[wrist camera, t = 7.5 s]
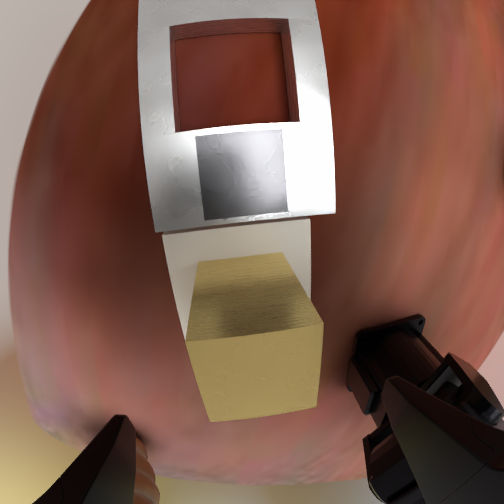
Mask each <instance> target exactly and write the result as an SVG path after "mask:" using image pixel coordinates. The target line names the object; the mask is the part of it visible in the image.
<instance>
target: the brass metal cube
mask: <svg viewBox="0 0 504 504" xmlns="http://www.w3.org/2000/svg"><path fill="white" fill-rule="evenodd" d="M323 328H324V323H323V321H322V319H321V318H320V316H319V314H318V312H317V311H316V309H315V307H314V306H313V304H312V302H311V300H310V299H309V297H308V295H307V294H306V292H305V290H304V288H303V287H302V285H301V283H300V282H299V280H298V278H297V277H296V275H295V273H294V271H293V270H292V268H291V266H290V265H289V263H288V261H287V260H286V258H285V256H284V255H283V253H282V252H278V253H270V254H261V255H253V256H244V257H236V258H227V259H219V260H210V261H202V262H198V266H197V271H196V277H195V283H194V289H193V295H192V301H191V307H190V313H189V319H188V326H187V333H186V339H185V343H186V347H187V350H188V354H189V357H190V361H191V364H192V368H193V371H194V374H195V378H196V381H197V384H198V387H199V390H200V394H201V397H202V400H203V403H204V406H205V409H206V412H207V415H208V418H209V420H210V422H217V421H229V420H239V419H248V418H256V417H263V416H270V415H276V414H282V413H288V412H293V411H299V410H304V409H308V408H313V407H316V406H317V398H318V389H319V379H320V368H321V357H322V343H323Z"/></svg>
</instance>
